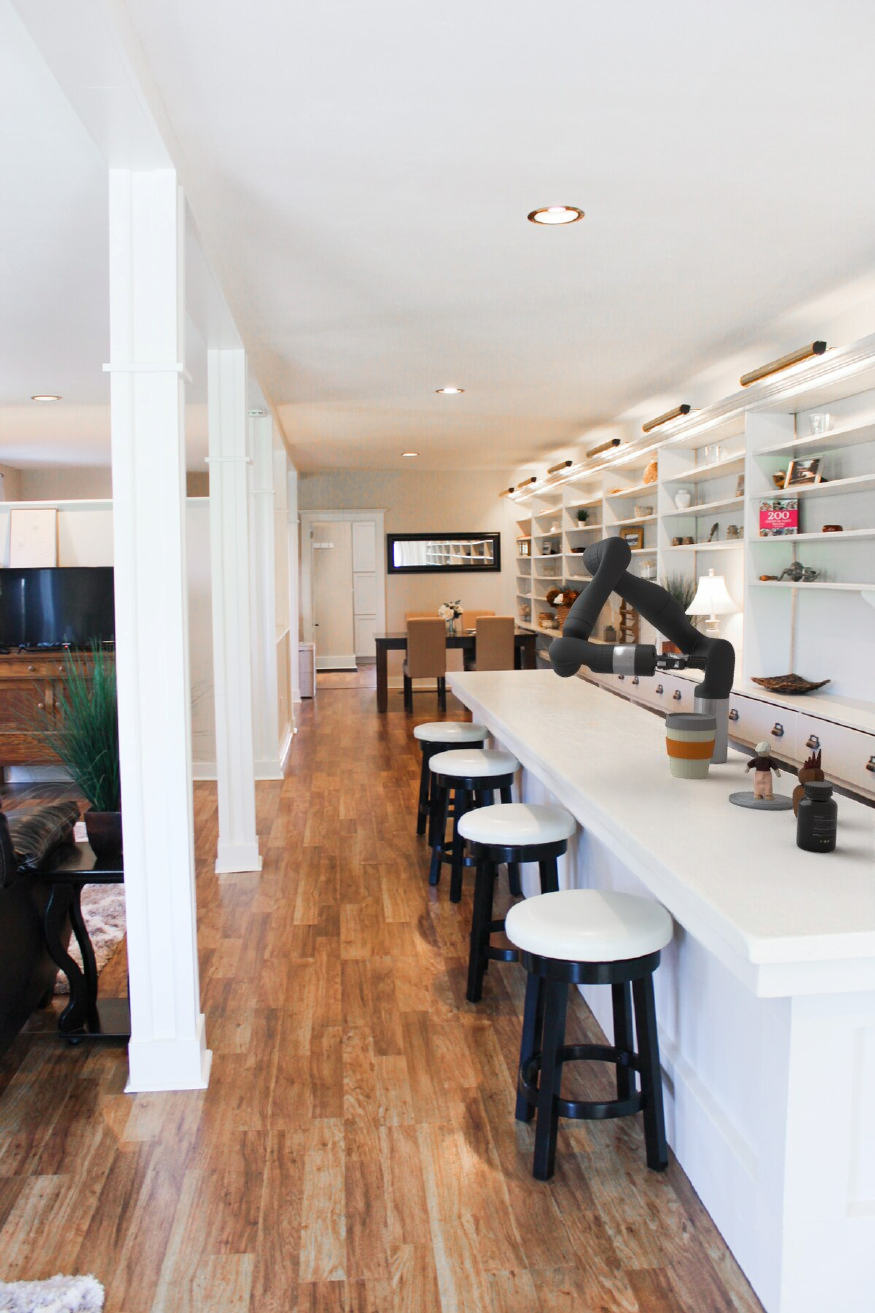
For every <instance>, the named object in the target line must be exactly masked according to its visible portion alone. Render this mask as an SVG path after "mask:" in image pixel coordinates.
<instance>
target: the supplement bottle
mask: <svg viewBox="0 0 875 1313" xmlns="http://www.w3.org/2000/svg"><path fill="white" fill-rule="evenodd" d="M833 789H834V786H833V784H831V783H828V782H825V781H824V782H806V783H805V787H804V794H805V796H803V797H801V798H800V799H799V801H798V812H797V818H796V835H795V836H796V837H795V841H796V842H795V843H796V846H797V848H799V849H801V850H803V851H806V852H810V853H816V854H827V853H832V852H834V851H835V850H836V848H837V834H838V833H837V832H838V829H837V828H838V811H839V810H838V808H839V806H838V805H839V804H838V803H837V801H836V800H835V799H834V798H832V796H833V795H834V792H833Z"/></svg>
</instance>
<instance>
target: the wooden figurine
mask: <svg viewBox="0 0 875 1313" xmlns="http://www.w3.org/2000/svg"><path fill="white" fill-rule="evenodd" d="M816 755H817V756H816ZM797 780H798V783H800V784H797V785H796V786H795V787H794V788H793V791H792V797H791V798H792V802H793V808H792V809H793V810H792V811H793V814H794V816H795V818H796V819H797V812H798V801H799V799H800V798H801V797H803V796H805V794H804V787H805V783H806V782H825V773H824V771H823V769H822V748H819V749H818V752H817V754H816V752H815V751H814V750H813V751H812V754H811V756H810V755H809V756H808V758H807V759H805V760H804V764H803V767H801V768H800V769H799V770H798V774H797Z"/></svg>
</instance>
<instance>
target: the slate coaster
mask: <svg viewBox="0 0 875 1313" xmlns="http://www.w3.org/2000/svg"><path fill="white" fill-rule="evenodd" d="M754 795H755V794H754V791H737V792H733V793H730V794H729V795H728V801H729V803H731V804H733V805H736V806H739V807H743V808H747V809H753V810H762V811H785V810H791V809H793V802H792V797H790V796H787V795H784V794H781V793H773V796H774V797H775V799H774V800H765V797H766V795H762V796H763V798H762V799H755V798H754Z"/></svg>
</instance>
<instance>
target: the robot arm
mask: <svg viewBox="0 0 875 1313" xmlns="http://www.w3.org/2000/svg"><path fill="white" fill-rule="evenodd" d="M632 555H633V554H632V548H631V546H630V545H629V543H628V541H627V540H625V539H624V538H623V537H621V536H610V537H607V538H604V539H602V540H600V541H598V542H594V543H593V544H590V545H589V546H587V547H586V548H585V549H584V551H583V553H582V561H583V565H584V567H585V569H586V570H587V571H588V573H589V574H590V576H592V577H593V578H592V579H591V581H590V582H589V583H588V584H587V586H586V587H585V588H584V589H583V591H581V593H579V595H578V596H577V598H576V599H575V601H574V602H573V604H572V605H571V607H570V609H569V612H568V614H567V616H566V618H565V620H564V623H563V625H562V629H561V630H562V637H558V638H556V639H554V640H553V641H552V642H551V643H550V644H549V646H548V651H547V652H548V657H549V660H550V664H551V667H552V670H553V672H554V673H555V674H556V675H557V676H558V677H561V678H566V679H567V678H570V677H572V676H574V675H575V674H577V673H578V671H580V669H581V668H582V666H586V667H587V668H588V669H589V670H590V671H591V672H592V673H595V674H605V675H607V674H608V675H609V674H610V675H618V676H619V675H620V676H627V677H628V676H629V677H648V678H649V677H651V678H653V677H654V676H655V674H656V670H657V669H658V670H662V671H684V670H685V671H686V670H688V669H689V670H690V669H693V670H700V671H703V672H704V676H703V677H704V678H703V681H702V682H701V683H700V684H696V686H694V689H693V713H702V714H709V715H713V716H716V723H717V729H715V735H714V739H715V746H714V752H713V757H712V758H711V759H710V764H719V763H720V764H721V763H726V762H728V750H729V746H728V745H729V724H730V721H729V720H730V719H729V718H730V697H731V696H730V694H731V692H732V691H731V690H732V689H733V687H734V686H733V685H734V679H735V678H734V677H735V670H736V669H735V667H736V653H735V648H734V646H733V643H732V642H730V641H729V640H727V639H725V638H720V637H719V638H718V637H710V636H707V635H705V634H703V633H702V632H701V631H699V630H698V629H697V628H696V627H695V626H694V625H692V623H691V622H690V621H689V620H688V617H687V614H686V612H685V608H684V607H683V605H682V604H681V603H680V601H679V600H678V599H677V598H676V597H674V595H673V594H672V593H670V592H669V591H668V590H667V589H665V587H663V586H661V585H659V584H658V583H655V582H653V581H650V580H648V579H644V578H642V577H639V576H637V575H635V574H632V573H631V572H629V571H628V570H627V569H628V568H629V565H630V563H631V561H632ZM612 592H614V593H616V595H617V596H619V597H620V598H621V599H623V601H625V602H626V603H627V604H628V605H629V606H631V608H633V609H634V610H635V611H636V612H637V613H638V614H639V615H640V616H641V617H642V618H644V619H645V620H646V621H647V623H649V624H650V625H651V626H652V627H654V628H655V629H656V630H657V631H658V632H659V633H661V634H662V635H663V636H664V637H665V638H666V639H668V640H669V641H670V642H671V643H672V644H673V645H675V646H676V648H677V649H678V650H679V651H680V652H681V653H680V652H670V651H664V652H663V653H662V654H657V646H656V645H655V644H647V643H618V644H615V643H614V644H613V643H611V644H610V643H596V642H593V641H589V639H590V637H591V634H592V633H593V630H594V628H595V626H596V623H597V621H598V618H599V616H600V614H601V612H602V610H603V608H604V607H605V604H606V602H607V600H608V599H609V598H610V596H611V594H612Z"/></svg>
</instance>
